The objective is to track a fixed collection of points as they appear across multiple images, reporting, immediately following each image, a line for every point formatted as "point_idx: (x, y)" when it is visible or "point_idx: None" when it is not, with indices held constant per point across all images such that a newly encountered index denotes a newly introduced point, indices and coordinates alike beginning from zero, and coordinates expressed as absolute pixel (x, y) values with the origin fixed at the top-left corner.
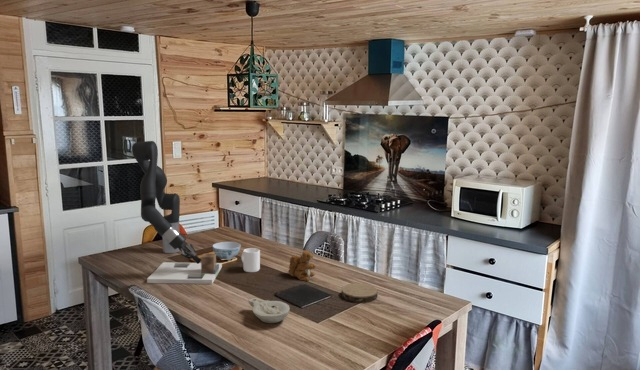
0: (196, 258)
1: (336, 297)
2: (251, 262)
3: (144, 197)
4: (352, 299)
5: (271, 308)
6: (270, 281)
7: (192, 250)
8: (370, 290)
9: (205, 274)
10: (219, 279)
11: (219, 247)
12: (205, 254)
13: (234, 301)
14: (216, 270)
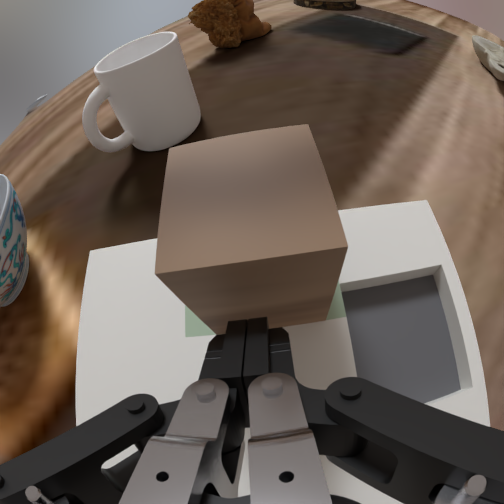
0: (286, 358)
1: (348, 12)
2: (189, 77)
3: None
4: (355, 3)
5: (499, 54)
6: (295, 63)
7: (208, 451)
8: None
9: (349, 275)
10: (335, 202)
11: None
12: (201, 235)
13: (495, 118)
14: None
